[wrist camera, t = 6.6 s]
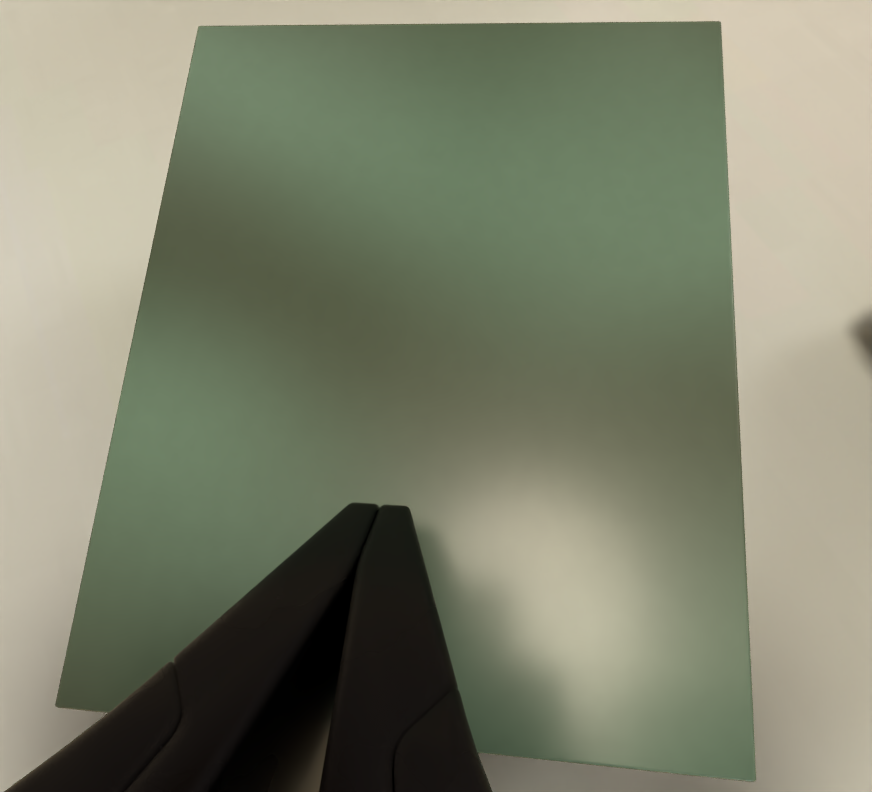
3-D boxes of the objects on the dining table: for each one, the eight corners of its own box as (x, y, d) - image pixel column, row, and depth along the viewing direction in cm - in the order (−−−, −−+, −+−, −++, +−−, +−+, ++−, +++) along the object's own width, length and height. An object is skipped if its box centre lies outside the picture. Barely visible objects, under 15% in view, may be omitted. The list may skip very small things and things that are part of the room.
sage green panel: (210, 48, 15) (197, 24, 15) (711, 46, 14) (721, 20, 14) (78, 699, 12) (53, 707, 11) (740, 770, 11) (757, 783, 10)
